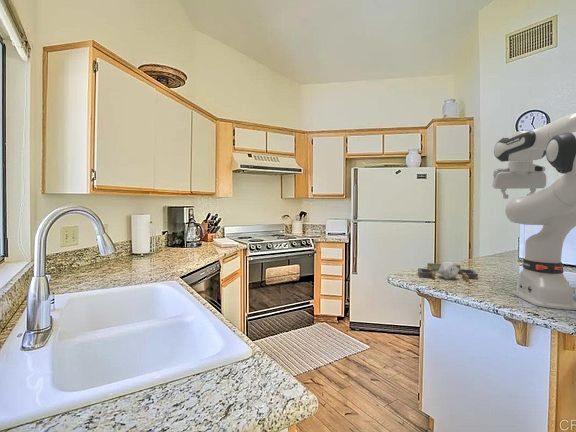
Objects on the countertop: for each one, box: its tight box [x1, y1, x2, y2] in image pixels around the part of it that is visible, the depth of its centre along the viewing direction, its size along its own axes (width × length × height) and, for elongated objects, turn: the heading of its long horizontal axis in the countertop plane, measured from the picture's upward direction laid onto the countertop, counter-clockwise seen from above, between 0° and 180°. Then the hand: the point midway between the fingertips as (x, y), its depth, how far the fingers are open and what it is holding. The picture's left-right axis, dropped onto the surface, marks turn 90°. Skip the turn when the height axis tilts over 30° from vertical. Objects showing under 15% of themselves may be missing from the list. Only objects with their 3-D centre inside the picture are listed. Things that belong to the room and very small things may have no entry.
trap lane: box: [417, 262, 479, 283], centre depth 156 cm, size 19×26×4 cm
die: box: [437, 261, 461, 280], centre depth 151 cm, size 8×9×10 cm
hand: (517, 198), depth 145 cm, fingers open, 8 cm apart
